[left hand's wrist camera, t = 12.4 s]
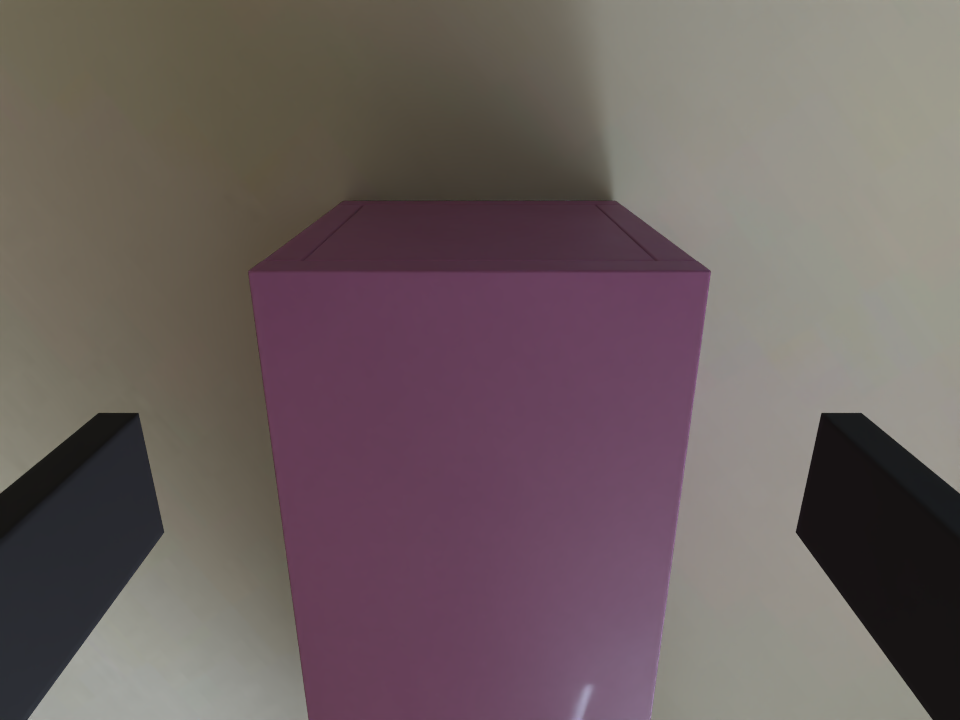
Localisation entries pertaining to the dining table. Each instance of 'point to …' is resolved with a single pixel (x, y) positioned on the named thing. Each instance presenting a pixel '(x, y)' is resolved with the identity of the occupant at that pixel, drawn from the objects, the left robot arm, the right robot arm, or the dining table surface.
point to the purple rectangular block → (479, 453)
